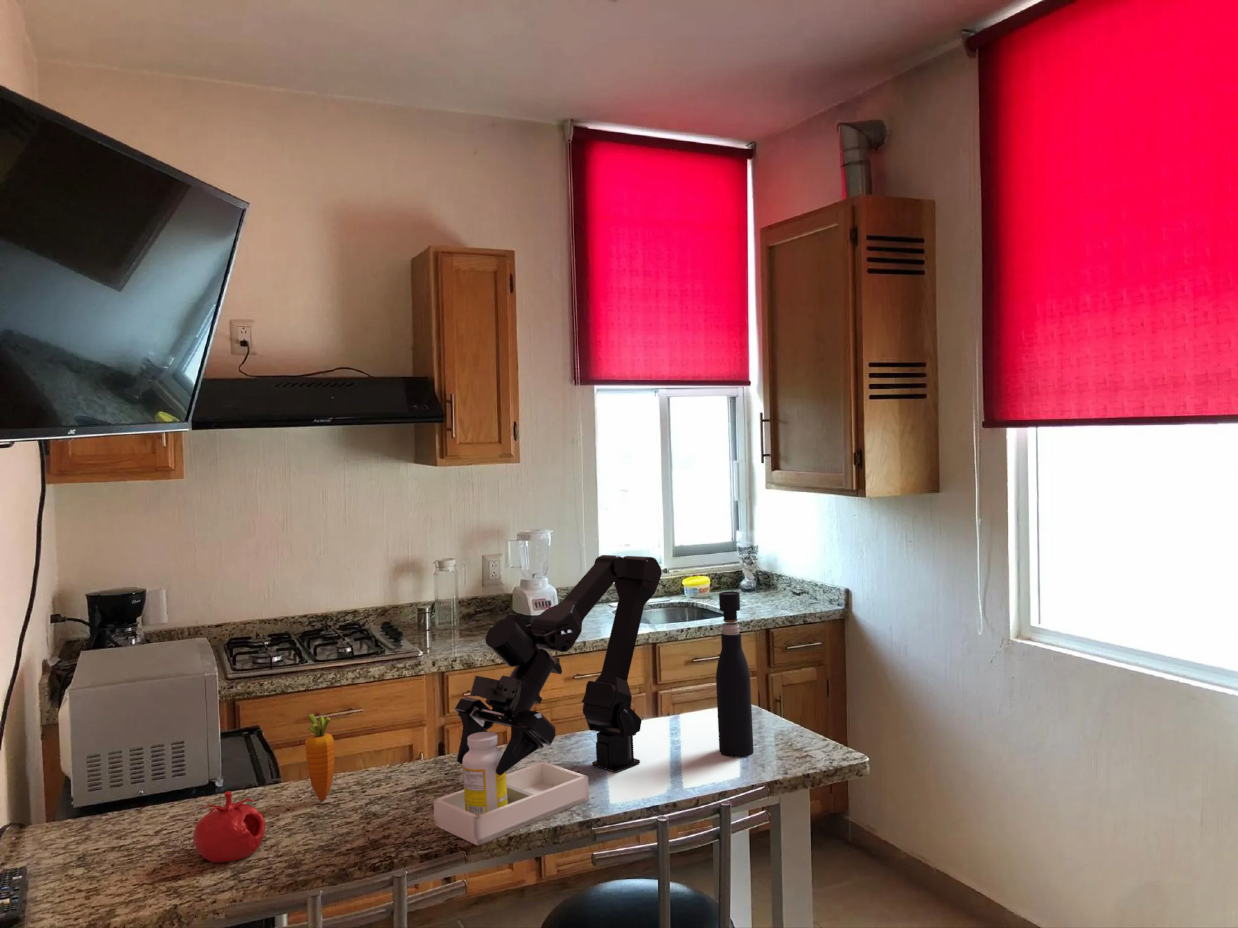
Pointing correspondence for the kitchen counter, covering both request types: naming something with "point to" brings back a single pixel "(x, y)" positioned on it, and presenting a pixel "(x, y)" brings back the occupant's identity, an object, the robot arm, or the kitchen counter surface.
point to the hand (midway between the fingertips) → (478, 768)
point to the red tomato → (229, 831)
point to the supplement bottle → (483, 774)
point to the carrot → (320, 757)
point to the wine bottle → (733, 685)
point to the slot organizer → (514, 803)
